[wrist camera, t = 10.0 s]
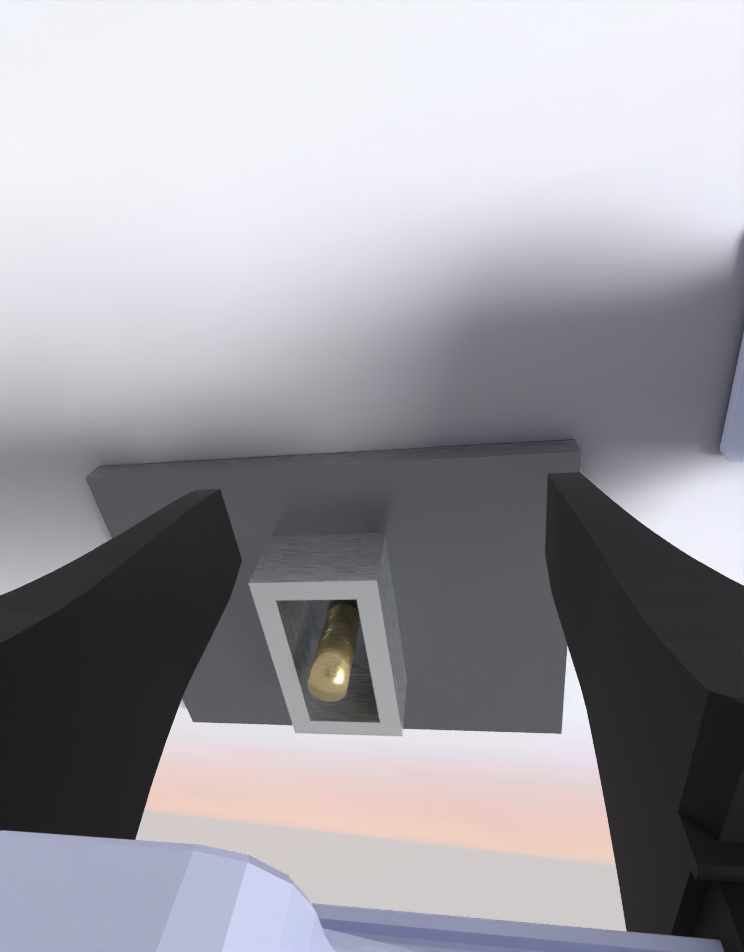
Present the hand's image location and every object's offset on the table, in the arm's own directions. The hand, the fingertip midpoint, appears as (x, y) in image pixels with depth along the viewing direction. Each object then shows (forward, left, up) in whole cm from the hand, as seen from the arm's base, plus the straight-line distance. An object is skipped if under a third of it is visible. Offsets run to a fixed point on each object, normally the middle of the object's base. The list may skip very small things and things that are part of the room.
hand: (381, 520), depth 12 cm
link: (+4, +11, -8) cm, 14 cm away
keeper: (+4, +11, -9) cm, 15 cm away
